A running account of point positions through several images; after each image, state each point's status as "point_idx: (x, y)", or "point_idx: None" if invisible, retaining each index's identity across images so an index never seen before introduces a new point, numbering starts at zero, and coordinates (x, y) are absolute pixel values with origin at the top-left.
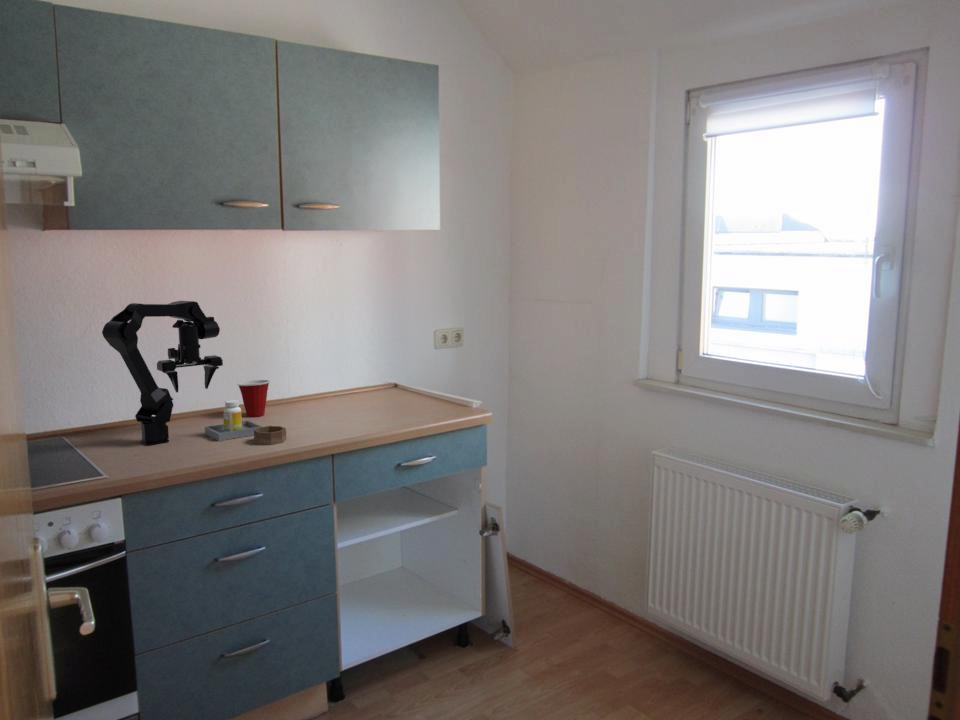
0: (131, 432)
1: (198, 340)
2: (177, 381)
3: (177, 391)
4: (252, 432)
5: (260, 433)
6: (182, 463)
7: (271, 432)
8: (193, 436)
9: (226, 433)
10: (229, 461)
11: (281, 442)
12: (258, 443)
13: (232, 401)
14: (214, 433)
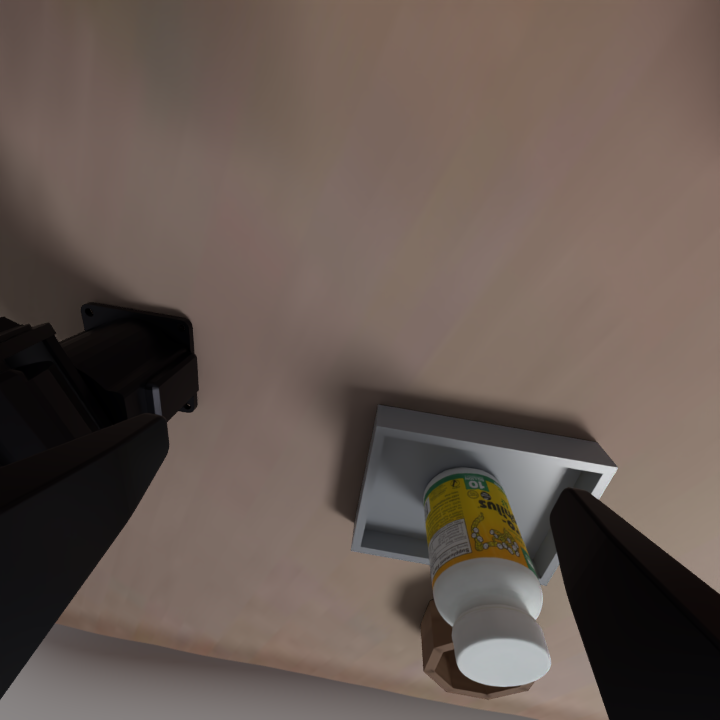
0: (63, 9)
1: None
2: (11, 669)
3: (151, 462)
4: None
5: (426, 671)
6: (163, 606)
7: (454, 689)
8: (319, 398)
9: (384, 552)
10: (266, 660)
11: None
12: (422, 621)
13: (504, 665)
14: (358, 511)
